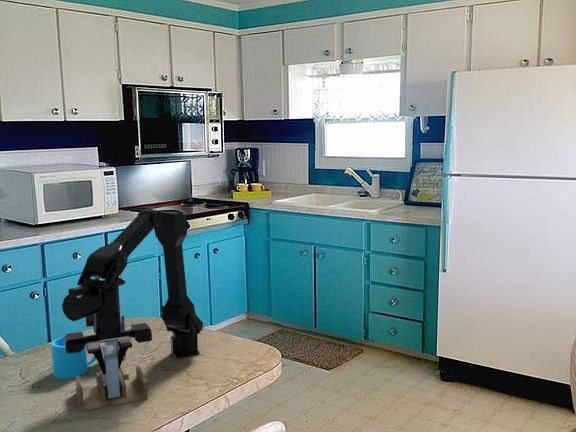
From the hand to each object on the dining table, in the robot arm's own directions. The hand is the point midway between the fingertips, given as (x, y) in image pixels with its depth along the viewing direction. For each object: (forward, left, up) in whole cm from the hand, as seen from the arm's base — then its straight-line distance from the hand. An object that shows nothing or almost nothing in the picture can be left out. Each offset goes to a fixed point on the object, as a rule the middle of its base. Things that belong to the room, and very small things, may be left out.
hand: (110, 373), depth 136 cm
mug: (+6, -19, -6) cm, 21 cm away
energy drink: (-4, -23, -6) cm, 24 cm away
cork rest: (-2, -10, -5) cm, 11 cm away
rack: (0, 0, -5) cm, 5 cm away
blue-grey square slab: (0, 0, -4) cm, 4 cm away
